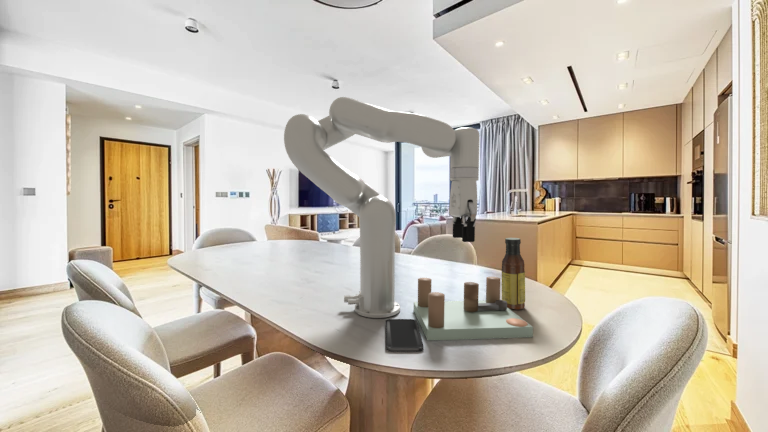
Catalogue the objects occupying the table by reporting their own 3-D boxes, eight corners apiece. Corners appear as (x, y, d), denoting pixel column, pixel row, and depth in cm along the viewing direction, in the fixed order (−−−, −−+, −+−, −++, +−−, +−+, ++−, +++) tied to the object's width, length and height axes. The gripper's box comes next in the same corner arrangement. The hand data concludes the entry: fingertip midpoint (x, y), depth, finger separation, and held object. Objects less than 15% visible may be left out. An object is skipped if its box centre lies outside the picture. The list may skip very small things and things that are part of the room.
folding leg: (503, 305, 81) (503, 281, 81) (509, 310, 78) (510, 285, 77) (461, 306, 80) (462, 282, 80) (466, 312, 77) (466, 286, 76)
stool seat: (427, 340, 67) (427, 298, 67) (413, 310, 85) (413, 277, 85) (532, 337, 69) (533, 296, 69) (497, 308, 87) (498, 275, 86)
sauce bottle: (520, 303, 91) (522, 237, 90) (528, 311, 85) (530, 240, 84) (498, 302, 92) (499, 236, 91) (504, 310, 86) (505, 239, 84)
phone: (386, 348, 62) (385, 318, 77) (386, 353, 62) (385, 323, 77) (424, 348, 62) (416, 319, 77) (424, 353, 62) (416, 323, 77)
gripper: (442, 177, 92) (441, 235, 93) (461, 172, 75) (459, 244, 76) (466, 177, 92) (465, 235, 94) (491, 172, 75) (489, 244, 76)
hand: (463, 239), depth 85 cm, fingers open, 7 cm apart
